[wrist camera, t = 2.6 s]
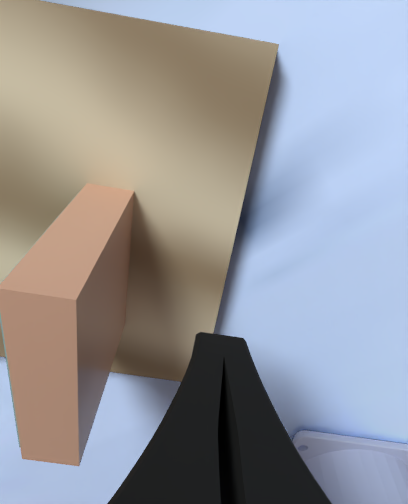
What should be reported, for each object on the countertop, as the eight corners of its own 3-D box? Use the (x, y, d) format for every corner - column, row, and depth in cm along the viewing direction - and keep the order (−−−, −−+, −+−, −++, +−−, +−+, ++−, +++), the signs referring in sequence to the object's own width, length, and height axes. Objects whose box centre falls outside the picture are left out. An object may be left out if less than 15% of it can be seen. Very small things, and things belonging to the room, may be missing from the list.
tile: (125, 324, 16) (78, 466, 11) (83, 318, 16) (16, 458, 11) (134, 190, 13) (76, 300, 8) (82, 182, 13) (-11, 286, 8)
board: (202, 371, 18) (201, 384, 18) (-74, 331, 18) (-86, 344, 17) (275, 43, 11) (278, 44, 11) (-181, -40, 11) (-208, -45, 10)
